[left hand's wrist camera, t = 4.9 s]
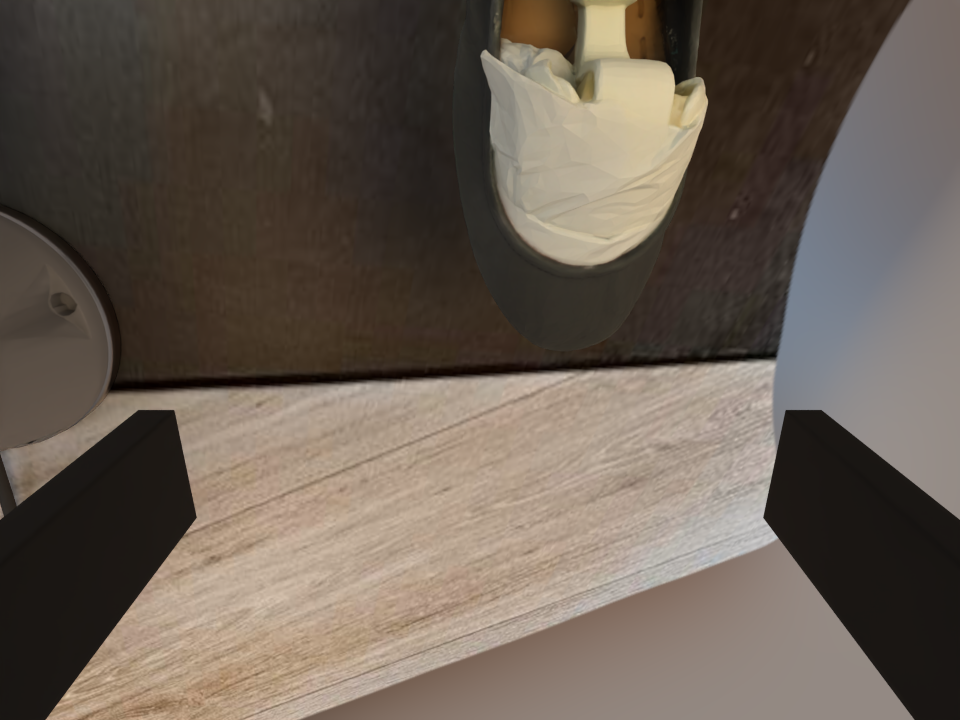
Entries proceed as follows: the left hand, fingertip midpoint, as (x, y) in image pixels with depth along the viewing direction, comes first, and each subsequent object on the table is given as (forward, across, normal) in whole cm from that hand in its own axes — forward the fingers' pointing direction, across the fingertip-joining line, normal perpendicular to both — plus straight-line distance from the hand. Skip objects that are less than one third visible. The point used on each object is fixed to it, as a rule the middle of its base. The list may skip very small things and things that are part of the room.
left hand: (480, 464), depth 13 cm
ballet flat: (+13, -3, -10) cm, 17 cm away
